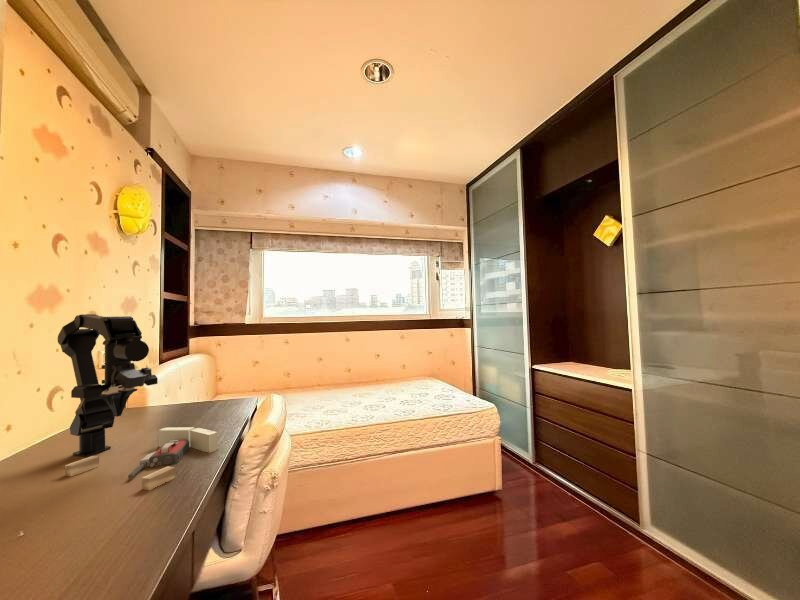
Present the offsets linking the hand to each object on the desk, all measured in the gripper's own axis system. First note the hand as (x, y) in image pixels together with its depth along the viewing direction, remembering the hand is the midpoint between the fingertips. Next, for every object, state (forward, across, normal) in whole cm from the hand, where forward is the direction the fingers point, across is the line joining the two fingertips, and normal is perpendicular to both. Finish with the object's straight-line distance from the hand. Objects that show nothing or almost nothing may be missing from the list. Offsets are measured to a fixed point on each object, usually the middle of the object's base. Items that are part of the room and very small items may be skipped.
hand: (118, 416), depth 95 cm
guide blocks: (+12, -7, -13) cm, 19 cm away
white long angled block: (+12, +11, -12) cm, 21 cm away
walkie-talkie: (+12, +2, -15) cm, 20 cm away
